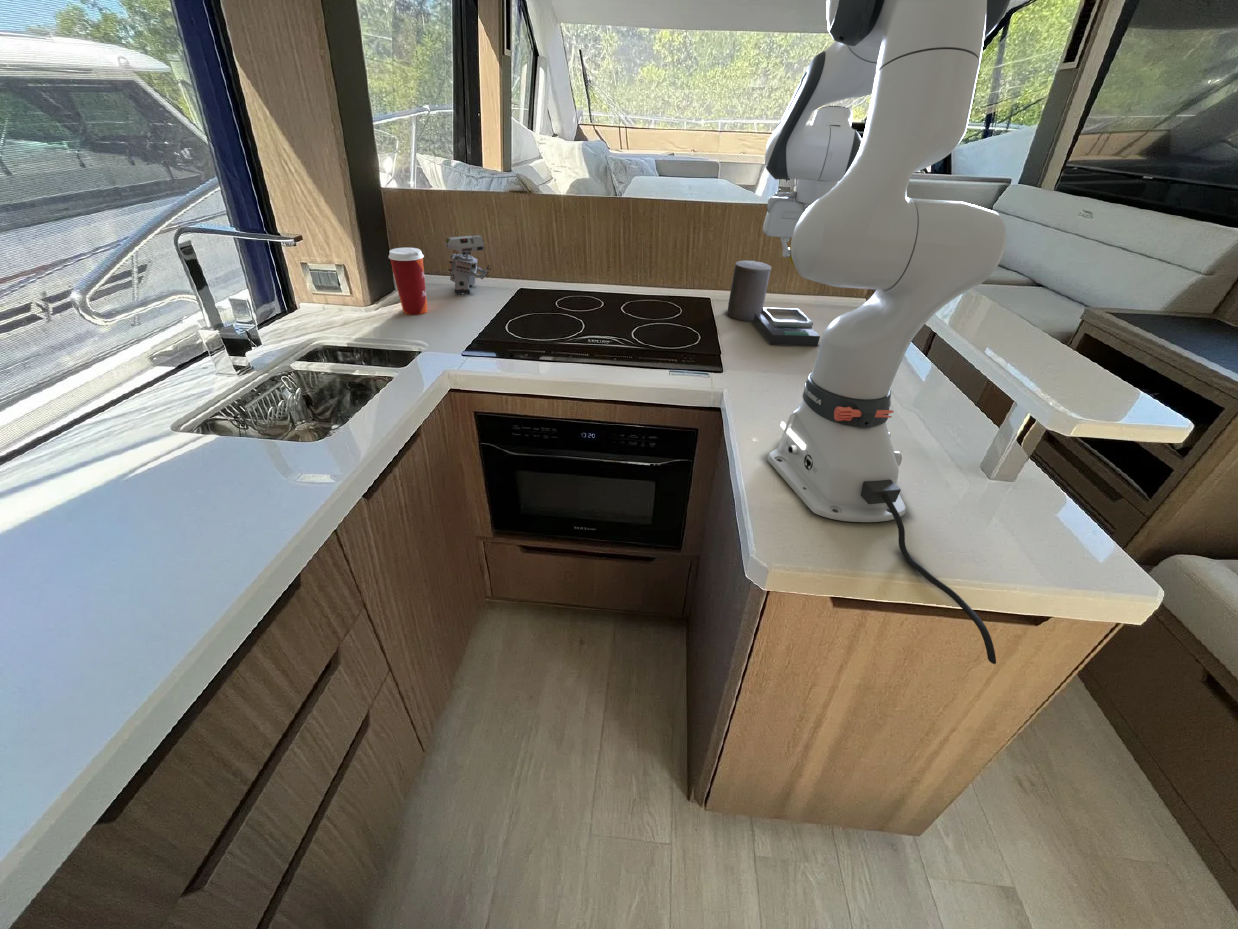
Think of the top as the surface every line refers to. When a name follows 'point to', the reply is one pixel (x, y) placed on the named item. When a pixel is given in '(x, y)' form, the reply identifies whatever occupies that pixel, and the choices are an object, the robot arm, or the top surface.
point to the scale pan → (786, 318)
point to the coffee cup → (409, 279)
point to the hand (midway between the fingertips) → (799, 257)
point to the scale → (786, 334)
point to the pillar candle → (748, 289)
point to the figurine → (465, 262)
